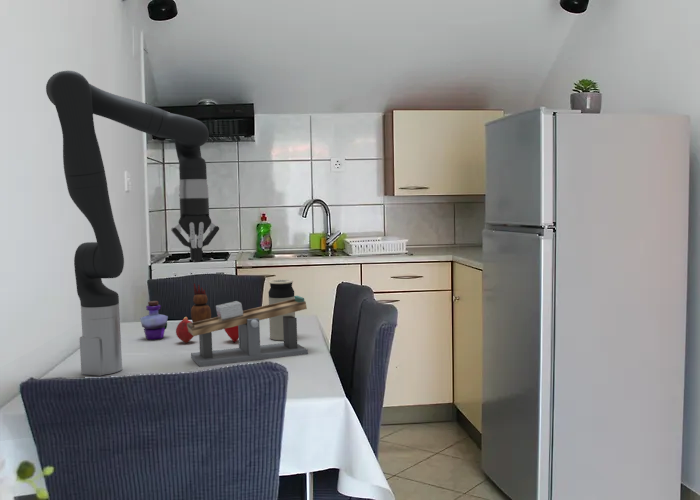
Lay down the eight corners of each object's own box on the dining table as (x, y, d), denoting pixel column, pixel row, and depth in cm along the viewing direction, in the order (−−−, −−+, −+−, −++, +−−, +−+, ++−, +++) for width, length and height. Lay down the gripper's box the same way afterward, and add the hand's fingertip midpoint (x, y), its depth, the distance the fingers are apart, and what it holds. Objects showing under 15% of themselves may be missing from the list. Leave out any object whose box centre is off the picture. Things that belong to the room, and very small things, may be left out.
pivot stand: (200, 367, 175) (198, 325, 175) (190, 356, 188) (188, 317, 187) (309, 354, 187) (307, 315, 186) (292, 345, 200) (291, 308, 199)
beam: (193, 336, 177) (191, 325, 177) (188, 331, 184) (186, 320, 184) (306, 308, 189) (305, 298, 189) (297, 305, 197) (296, 295, 196)
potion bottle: (174, 337, 216) (173, 300, 215) (153, 342, 209) (151, 304, 208) (156, 334, 221) (154, 298, 220) (134, 339, 214) (133, 302, 213)
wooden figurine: (188, 327, 234) (186, 284, 233) (197, 324, 239) (195, 282, 238) (206, 327, 232) (204, 284, 231) (214, 324, 238) (212, 282, 236)
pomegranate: (190, 345, 204) (189, 318, 203) (173, 344, 205) (172, 318, 204) (199, 341, 209) (197, 315, 209) (181, 340, 211) (180, 315, 210)
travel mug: (272, 341, 206) (270, 283, 204) (268, 336, 213) (266, 280, 212) (297, 339, 208) (296, 281, 207) (293, 334, 215) (291, 278, 214)
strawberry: (232, 345, 202) (231, 312, 201) (219, 341, 208) (218, 309, 207) (249, 342, 206) (248, 309, 205) (236, 338, 211) (235, 307, 211)
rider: (222, 322, 182) (219, 308, 181) (218, 319, 186) (215, 305, 186) (243, 317, 184) (241, 303, 183) (239, 314, 188) (236, 300, 188)
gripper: (170, 197, 173) (173, 264, 174) (221, 196, 178) (224, 261, 180) (166, 197, 180) (169, 262, 181) (215, 196, 185) (218, 259, 186)
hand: (196, 261), depth 180 cm, fingers closed
